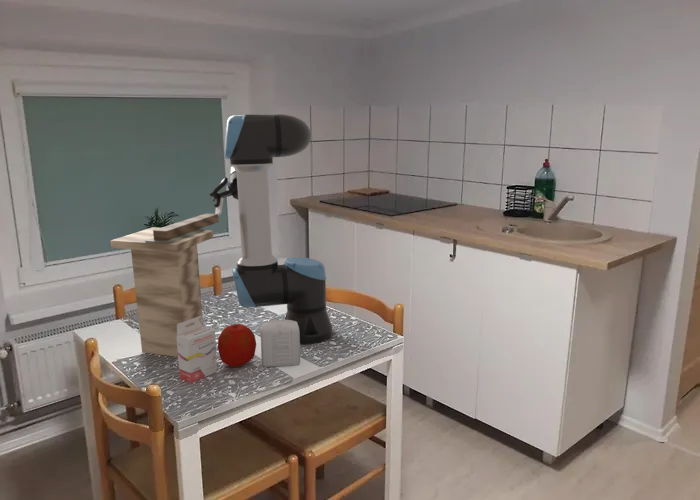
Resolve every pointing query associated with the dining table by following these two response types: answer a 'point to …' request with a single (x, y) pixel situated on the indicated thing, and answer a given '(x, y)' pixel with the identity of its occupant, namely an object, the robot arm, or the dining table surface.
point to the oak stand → (164, 285)
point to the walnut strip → (185, 227)
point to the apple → (236, 345)
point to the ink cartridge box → (196, 350)
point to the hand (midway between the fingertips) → (235, 224)
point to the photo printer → (280, 343)
